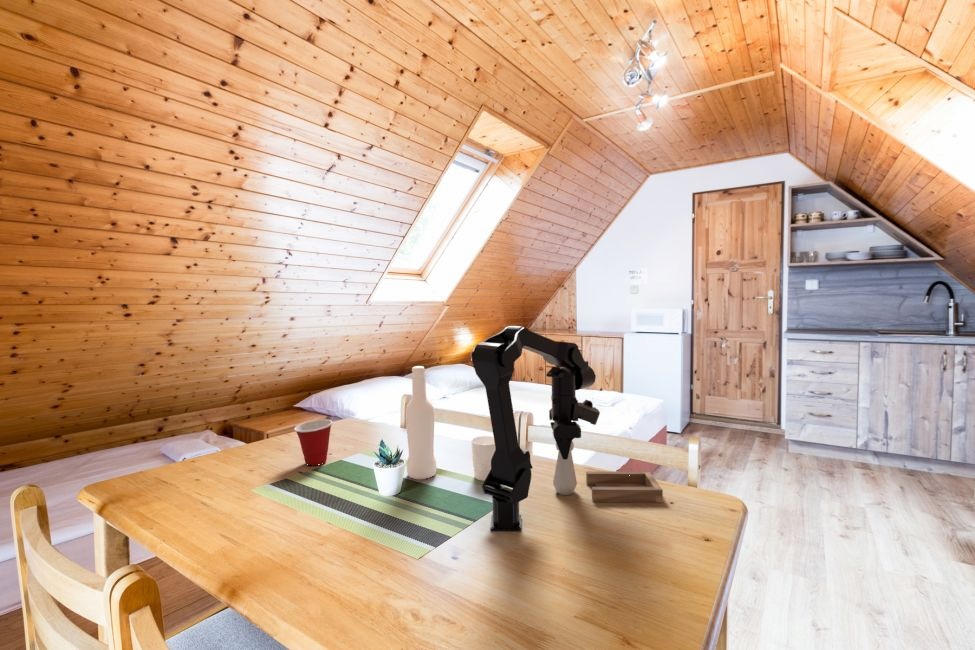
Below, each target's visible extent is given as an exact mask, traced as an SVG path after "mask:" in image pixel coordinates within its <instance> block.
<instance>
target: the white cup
mask: <svg viewBox="0 0 975 650" xmlns="http://www.w3.org/2000/svg"><path fill="white" fill-rule="evenodd" d="M494 452H495V442H494V436H493V435H492V436H491V435H484V436H483V435H481V436H477V437H474V438H472V439H471V454H472V455H471V456H472V465H473V473H474V474H473V475H474V478H475V479H476V480H478V481H481V482H484V481H485V479H486V477H487V476H488V474H489V472H490V470H491V459H492V456H493V454H494Z"/></svg>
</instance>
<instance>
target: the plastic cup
mask: <svg viewBox="0 0 975 650" xmlns="http://www.w3.org/2000/svg"><path fill="white" fill-rule="evenodd" d="M332 425H333V421H332V419H331V420H330V419H316V420H310V421H306V422H302V423H300V424H298V425H296V426H295V427H294V429H293V430H294V431H295V432H296V434H297V438H298V441H299V444H300V446H301V451H302V455H303V459H304V463H305V465H306V464H308V465H318V464H322V463H324V464H326V463H325V462H327V459H328V452H329V445H330V435H331V434H330V433H331V429H332ZM322 465H323V464H322Z"/></svg>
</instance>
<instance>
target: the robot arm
mask: <svg viewBox="0 0 975 650" xmlns="http://www.w3.org/2000/svg"><path fill="white" fill-rule="evenodd" d="M523 349H524V350H526V351H529V352H531V353H534V354H537V355H540V356H542V359H543V360H544V361H545V362H547V363H548V364H550V365H553V366H551V369H549V371H547V373H546V374H545V375H546V377H547V378H548V377H549V378H551V395H550V400H551V409H550V408H549V411H548V418H549V421H552V422H550V424H549V425H550V427H551V429H552V436H553V438H554V441H555V442H556V443H557V446H558V448H559V450H558V452H559V451H560V453H561V456H562V458H563V459H568V455H569V451H570V446H571V442H573V440H575V439H580V438H582V428H581V426H580V425H579V424H578V422H579V419H580V420H582V421H585V422H587V423H590V424H591V425H594V426H595V425H597V423H598V419H599V417H600V414H601V411H600V410H599V409H598V408H596V407H594V406H593V402H592V401H591V400H589V399H585V400H583V402H579V401H578V399H577V397H576V391H579V390H582V389H586V388H590V387H591V386H593V385H594V384H595V382H596V376H597V375H596V374H595V371H594V369H593V368H592V367H591V366H589V361H585V359H584V357H583V355H582V352H581V350H580V349H579V346H578V344H577V343H575V342H568V341H557V340H556V341H555V340H553V339H551V338H548V337H546V336H545V335H544V336H543V335H542V334H539V333H537V332H534V331H532V330H530V329H528V328H527V327H526V326H517V325H509V326H506V327H505V328H503V329H502V330H501V331H499V332H498V333H496V334H495V335H491V336H489V337H488V338H486V339H484V340H483V341H482V342H479V343H477V344H476V346H475V347H474V349H473V350H472V352H471V362H472V365H473V368H474V371H475V374H476V377H478V379H479V380H480V381H481V383H482V384H483V386H484V388H485V393H486V399H487V404H488V411H489V416H490V417H489V418H490V422H491V423H490V424H491V429H492V436H494V442H495V452H494V454H493V456H492V459H491V470H490V472H489V474H488V476H487V477H486V479H485V481H483V483H482V485H481V487H482V492H483V494H484V495H488V496H491V498H492V499H491V500H492V503H491V504H492V505H491V506H492V514H491V519H490V525H489V527H490V529H489V530H490V531H511V532H512V531H513V532H514V531H522V514H520V502H521V501H523V500H525V499H527V498H528V496H529V492H530V491H529V490H530V488H531V487H530V486H531V480H532V469H533V465H532V461H531V454H530V451H529V450H527V449H523V448H521V447H520V445H519V440H518V433H517V427H516V419H515V415H514V414H515V413H514V408H513V402H512V395H511V389H510V381H511V378H512V377H513V374H514V372H515V362H516V361H517V360H518V359H519V358H521V356H522V352H523ZM556 443H555V444H556Z"/></svg>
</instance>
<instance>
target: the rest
mask: <svg viewBox="0 0 975 650" xmlns="http://www.w3.org/2000/svg"><path fill="white" fill-rule="evenodd" d="M629 475H630V476H629ZM585 478H586V479H585V482H586V485H587V486H592V487H591V500H592V503H663V498H664V496H663V488H662V487H661V486H660V484H659V483H658V481H657V479H656V478H655V477H654V475H653V474H652V473H651V472H650V471H587V470H586V471H585Z"/></svg>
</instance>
